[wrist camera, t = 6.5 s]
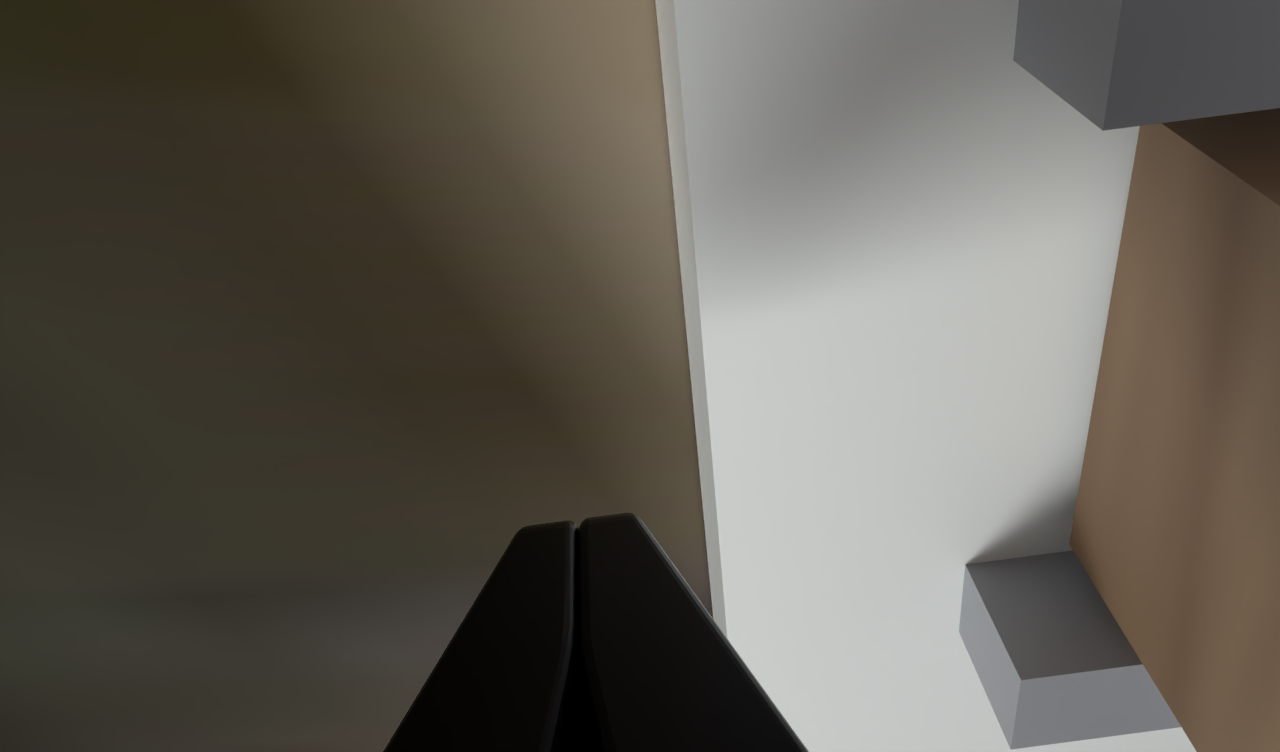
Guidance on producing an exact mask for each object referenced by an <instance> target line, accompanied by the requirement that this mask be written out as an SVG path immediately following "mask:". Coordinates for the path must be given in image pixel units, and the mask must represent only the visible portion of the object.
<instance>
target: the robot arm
mask: <svg viewBox="0 0 1280 752" xmlns="http://www.w3.org/2000/svg"><path fill="white" fill-rule="evenodd" d="M383 752H809V751H808V750H807V748H806V747H805V746H804V744H803V743H802V742H801V740H800V739H799V737H798V736H797V735H796V733H795V732H794V730H793V729H792V728H791V726H790V725H789V723H788V722H787V721H786V719H785V718H784V717H783V715H782V714H781V712H780V711H779V710H778V708H777V707H776V705H775V704H774V703H773V701H772V700H771V699H770V697H769V696H768V694H767V693H766V692H765V690H764V689H763V687H762V686H761V685H760V683H759V682H758V680H757V679H756V678H755V676H754V675H753V674H752V672H751V671H750V669H749V668H748V667H747V665H746V664H745V662H744V661H743V660H742V658H741V657H740V656H739V654H738V653H737V651H736V650H735V649H734V647H733V646H732V644H731V643H730V642H729V640H728V639H727V637H726V636H725V635H724V633H723V632H722V631H721V629H720V628H719V626H718V625H717V624H716V622H715V621H714V619H713V618H712V617H711V615H710V614H709V613H708V611H707V610H706V608H705V607H704V606H703V604H702V603H701V601H700V600H699V599H698V597H697V596H696V594H695V593H694V592H693V590H692V589H691V588H690V586H689V585H688V583H687V582H686V581H685V579H684V578H683V576H682V575H681V574H680V572H679V571H678V570H677V568H676V567H675V565H674V564H673V563H672V561H671V560H670V558H669V557H668V556H667V554H666V553H665V551H664V550H663V549H662V547H661V546H660V545H659V543H658V542H657V540H656V539H655V538H654V536H653V535H652V533H651V532H650V531H649V529H648V528H647V527H646V525H645V524H644V522H643V521H642V520H641V519H640V518H639V517H638V516H637V515H636V514H633V513H622V514H614V515H607V516H599V517H592V518H587V519H585V520H584V521H583V522H582V523H581V525H580V527H579V528H578V526H577V525H576V524H575V523H574V522H572V521H562V522H554V523H546V524H539V525H531V526H526V527H523V528H522V529H520V530H519V531H518V532H517V533H516V535H515V536H514V538H513V539H512V541H511V543H510V544H509V546H508V548H507V549H506V551H505V553H504V554H503V556H502V557H501V559H500V561H499V562H498V564H497V566H496V567H495V569H494V571H493V572H492V574H491V576H490V577H489V579H488V581H487V582H486V584H485V585H484V587H483V589H482V590H481V592H480V594H479V595H478V597H477V599H476V600H475V602H474V604H473V605H472V607H471V608H470V610H469V612H468V613H467V615H466V617H465V618H464V620H463V622H462V623H461V625H460V627H459V628H458V630H457V631H456V633H455V635H454V636H453V638H452V640H451V641H450V643H449V645H448V646H447V648H446V650H445V651H444V653H443V654H442V656H441V658H440V659H439V661H438V663H437V664H436V666H435V668H434V669H433V671H432V673H431V674H430V676H429V678H428V679H427V681H426V682H425V684H424V686H423V687H422V689H421V691H420V692H419V694H418V696H417V697H416V699H415V701H414V702H413V704H412V705H411V707H410V709H409V710H408V712H407V714H406V715H405V717H404V719H403V720H402V722H401V724H400V725H399V727H398V728H397V730H396V732H395V733H394V735H393V737H392V738H391V740H390V742H389V743H388V745H387V747H386V748H385V750H384V751H383Z"/></svg>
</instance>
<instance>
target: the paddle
mask: <svg viewBox="0 0 1280 752" xmlns="http://www.w3.org/2000/svg"><path fill="white" fill-rule="evenodd" d="M1069 545H1070V547H1071V548H1072V550H1073V552H1074V553H1075V555H1076V556H1077V558H1078V560H1079V561H1080V563H1081V565H1082V566H1083V568H1084V569H1085V571H1086V573H1087V574H1088V576H1089V578H1090V579H1091V581H1092V582H1093V584H1094V586H1095V587H1096V589H1097V591H1098V592H1099V594H1100V595H1101V597H1102V599H1103V600H1104V602H1105V604H1106V605H1107V607H1108V608H1109V610H1110V612H1111V613H1112V615H1113V617H1114V618H1115V620H1116V621H1117V623H1118V625H1119V626H1120V628H1121V630H1122V631H1123V633H1124V634H1125V636H1126V638H1127V639H1128V641H1129V643H1130V644H1131V646H1132V647H1133V649H1134V651H1135V652H1136V654H1137V656H1138V657H1139V659H1140V660H1141V662H1142V664H1143V665H1144V667H1145V669H1146V670H1147V672H1148V673H1149V675H1150V677H1151V678H1152V680H1153V682H1154V683H1155V685H1156V687H1157V688H1158V690H1159V691H1160V693H1161V695H1162V696H1163V698H1164V700H1165V701H1166V703H1167V704H1168V706H1169V708H1170V709H1171V711H1172V713H1173V714H1174V716H1175V717H1176V719H1177V721H1178V722H1179V724H1180V726H1181V727H1182V729H1183V730H1184V732H1185V734H1186V735H1187V737H1188V739H1189V740H1190V742H1191V743H1192V745H1193V747H1194V748H1195V750H1196V752H1280V108H1275V109H1268V110H1260V111H1252V112H1244V113H1236V114H1229V115H1221V116H1213V117H1205V118H1198V119H1190V120H1182V121H1174V122H1167V123H1159V124H1151V125H1143V126H1140V128H1139V134H1138V140H1137V146H1136V152H1135V158H1134V164H1133V170H1132V176H1131V182H1130V187H1129V193H1128V199H1127V205H1126V211H1125V217H1124V223H1123V229H1122V235H1121V241H1120V247H1119V253H1118V258H1117V264H1116V270H1115V276H1114V282H1113V288H1112V294H1111V300H1110V306H1109V312H1108V318H1107V324H1106V329H1105V335H1104V341H1103V347H1102V353H1101V359H1100V365H1099V371H1098V377H1097V383H1096V389H1095V394H1094V400H1093V406H1092V412H1091V418H1090V424H1089V430H1088V436H1087V442H1086V448H1085V454H1084V460H1083V465H1082V471H1081V477H1080V483H1079V489H1078V495H1077V501H1076V507H1075V513H1074V519H1073V525H1072V530H1071V536H1070V542H1069Z"/></svg>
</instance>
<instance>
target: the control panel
mask: <svg viewBox="0 0 1280 752" xmlns="http://www.w3.org/2000/svg"><path fill="white" fill-rule="evenodd" d="M655 1H656V11H657V22H658V33H659V43H660V54H661V65H662V76H663V86H664V97H665V108H666V118H667V129H668V140H669V150H670V161H671V172H672V182H673V193H674V204H675V215H676V225H677V236H678V247H679V257H680V268H681V279H682V289H683V300H684V311H685V321H686V332H687V343H688V354H689V364H690V375H691V386H692V396H693V407H694V418H695V428H696V439H697V450H698V460H699V471H700V482H701V493H702V503H703V514H704V525H705V535H706V546H707V557H708V567H709V578H710V589H711V599H712V610H713V619H714V621H715V622H716V624H717V625H718V626H719V628H720V629H721V631H722V632H723V633H724V635H725V636H726V637H727V639H728V640H729V642H730V643H731V644H732V646H733V647H734V649H735V650H736V651H737V653H738V654H739V656H740V657H741V658H742V660H743V661H744V662H745V664H746V665H747V667H748V668H749V669H750V671H751V672H752V674H753V675H754V676H755V678H756V679H757V680H758V682H759V683H760V685H761V686H762V687H763V689H764V690H765V692H766V693H767V694H768V696H769V697H770V699H771V700H772V701H773V703H774V704H775V705H776V707H777V708H778V710H779V711H780V712H781V714H782V715H783V717H784V718H785V719H786V721H787V722H788V723H789V725H790V726H791V728H792V729H793V730H794V732H795V733H796V735H797V736H798V737H799V739H800V740H801V742H802V743H803V744H804V746H805V747H806V748H807V750H808V751H809V752H1196V750H1195V748H1194V747H1193V745H1192V743H1191V742H1190V740H1189V739H1188V737H1187V735H1186V734H1185V732H1184V730H1183V729H1182V727H1181V726H1180V724H1179V722H1178V721H1177V719H1176V717H1175V716H1174V714H1173V713H1172V711H1171V709H1170V708H1169V706H1168V704H1167V703H1166V701H1165V700H1164V698H1163V696H1162V695H1161V693H1160V691H1159V690H1158V688H1157V687H1156V685H1155V683H1154V682H1153V680H1152V678H1151V677H1150V675H1149V673H1148V672H1147V670H1146V669H1145V667H1144V665H1143V664H1142V662H1141V660H1140V659H1139V657H1138V656H1137V654H1136V652H1135V651H1134V649H1133V647H1132V646H1131V644H1130V643H1129V641H1128V639H1127V638H1126V636H1125V634H1124V633H1123V631H1122V630H1121V628H1120V626H1119V625H1118V623H1117V621H1116V620H1115V618H1114V617H1113V615H1112V613H1111V612H1110V610H1109V608H1108V607H1107V605H1106V604H1105V602H1104V600H1103V599H1102V597H1101V595H1100V594H1099V592H1098V591H1097V589H1096V587H1095V586H1094V584H1093V582H1092V581H1091V579H1090V578H1089V576H1088V574H1087V573H1086V571H1085V569H1084V568H1083V566H1082V565H1081V563H1080V561H1079V560H1078V558H1077V556H1076V555H1075V553H1074V552H1073V550H1072V548H1071V547H1070V545H1069V542H1070V536H1071V530H1072V525H1073V519H1074V513H1075V507H1076V501H1077V495H1078V489H1079V483H1080V477H1081V471H1082V465H1083V460H1084V454H1085V448H1086V442H1087V436H1088V430H1089V424H1090V418H1091V412H1092V406H1093V400H1094V394H1095V389H1096V383H1097V377H1098V371H1099V365H1100V359H1101V353H1102V347H1103V341H1104V335H1105V329H1106V324H1107V318H1108V312H1109V306H1110V300H1111V294H1112V288H1113V282H1114V276H1115V270H1116V264H1117V258H1118V253H1119V247H1120V241H1121V235H1122V229H1123V223H1124V217H1125V211H1126V205H1127V199H1128V193H1129V187H1130V182H1131V176H1132V170H1133V164H1134V158H1135V152H1136V146H1137V140H1138V134H1139V128H1140V126H1143V125H1151V124H1159V123H1167V122H1174V121H1182V120H1190V119H1198V118H1205V117H1213V116H1221V115H1229V114H1236V113H1244V112H1252V111H1260V110H1268V109H1275V108H1280V0H655Z"/></svg>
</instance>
